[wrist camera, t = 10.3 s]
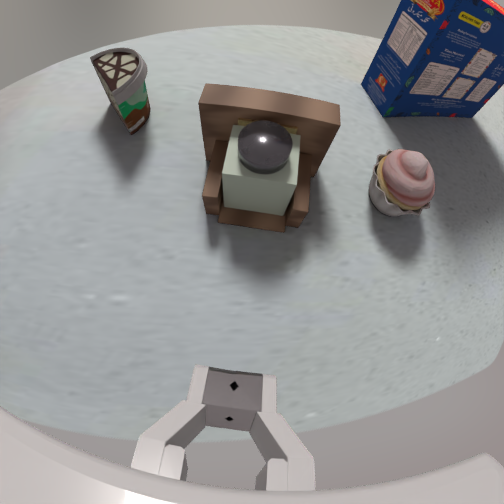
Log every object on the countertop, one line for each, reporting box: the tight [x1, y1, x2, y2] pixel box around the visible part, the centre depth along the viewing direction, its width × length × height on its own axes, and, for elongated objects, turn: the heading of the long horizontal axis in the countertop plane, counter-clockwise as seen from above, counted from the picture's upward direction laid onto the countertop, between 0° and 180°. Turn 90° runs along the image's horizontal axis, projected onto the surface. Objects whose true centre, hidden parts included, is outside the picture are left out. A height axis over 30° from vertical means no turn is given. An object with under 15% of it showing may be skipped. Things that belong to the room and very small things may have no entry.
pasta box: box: [361, 0, 504, 118], centre depth 29 cm, size 28×8×28 cm, turn 107°
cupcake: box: [369, 149, 435, 217], centre depth 32 cm, size 9×9×10 cm
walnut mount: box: [199, 84, 340, 233], centre depth 30 cm, size 14×11×11 cm
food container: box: [90, 48, 150, 135], centre depth 33 cm, size 12×6×10 cm, turn 36°
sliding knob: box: [222, 120, 301, 216], centre depth 30 cm, size 7×6×10 cm
